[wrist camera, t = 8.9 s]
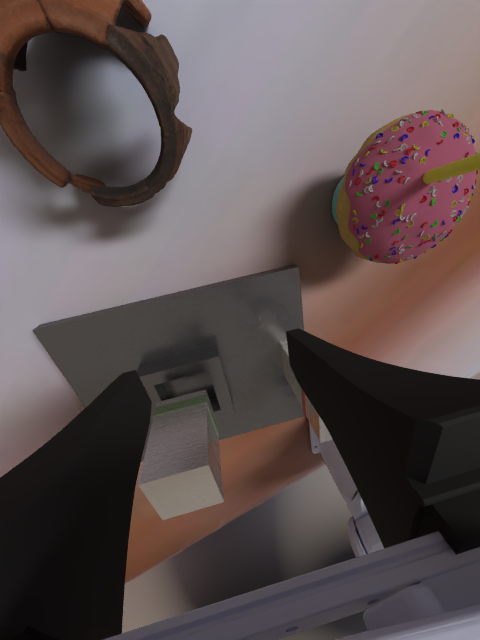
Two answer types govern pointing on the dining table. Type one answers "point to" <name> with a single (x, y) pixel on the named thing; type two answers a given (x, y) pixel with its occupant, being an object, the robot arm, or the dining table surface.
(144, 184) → the broken terracotta ring
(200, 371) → the stand base
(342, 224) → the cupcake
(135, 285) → the dining table surface
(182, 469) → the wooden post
